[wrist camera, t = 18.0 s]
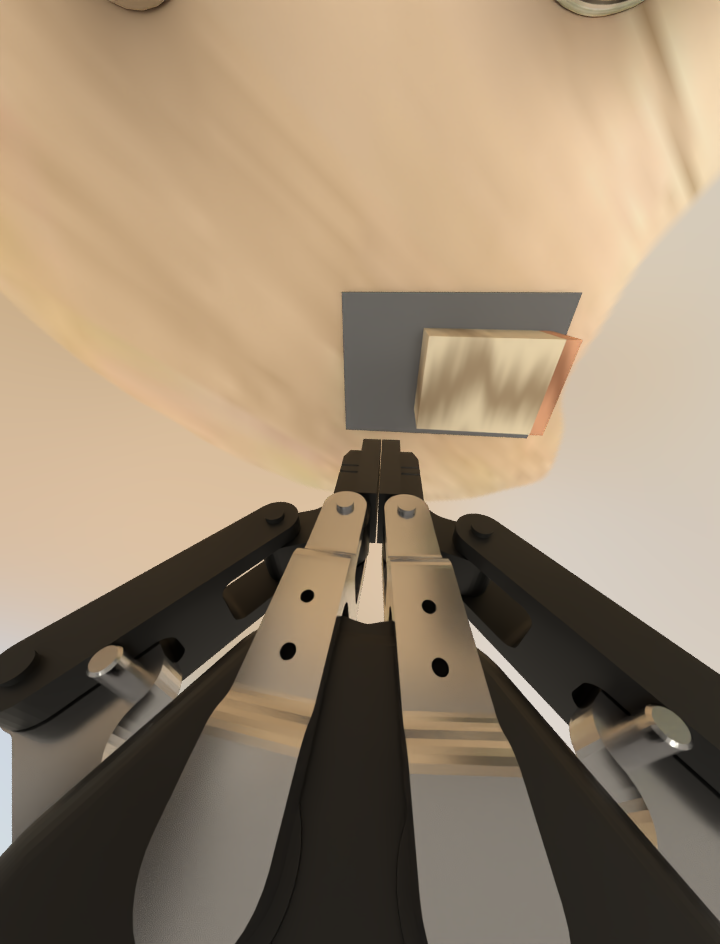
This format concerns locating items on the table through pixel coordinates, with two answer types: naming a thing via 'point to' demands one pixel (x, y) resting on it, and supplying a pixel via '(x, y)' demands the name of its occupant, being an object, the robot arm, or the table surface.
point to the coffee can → (598, 6)
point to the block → (491, 379)
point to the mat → (400, 340)
